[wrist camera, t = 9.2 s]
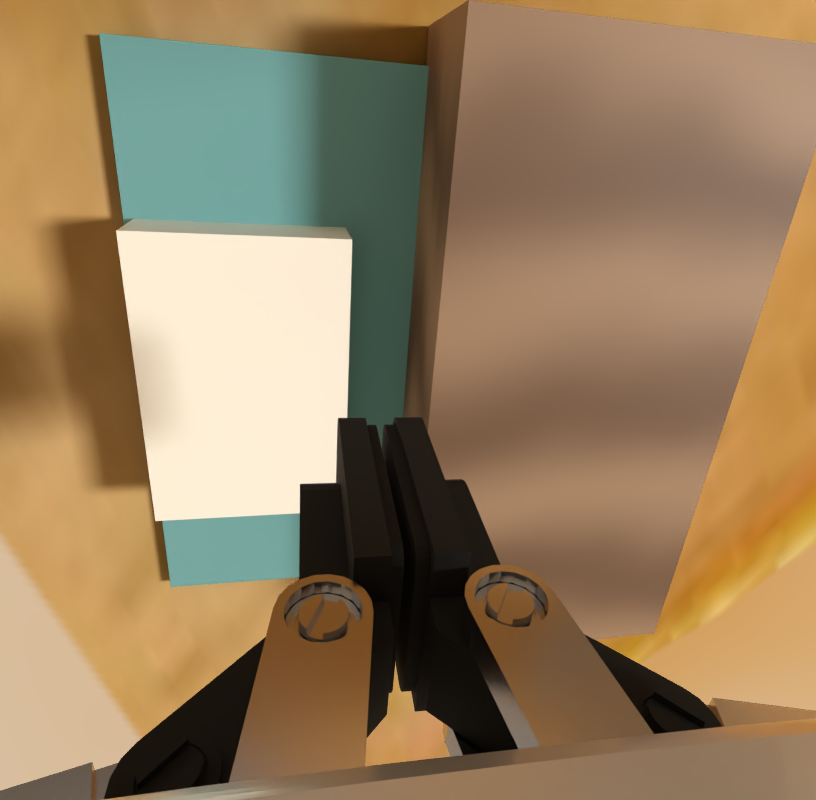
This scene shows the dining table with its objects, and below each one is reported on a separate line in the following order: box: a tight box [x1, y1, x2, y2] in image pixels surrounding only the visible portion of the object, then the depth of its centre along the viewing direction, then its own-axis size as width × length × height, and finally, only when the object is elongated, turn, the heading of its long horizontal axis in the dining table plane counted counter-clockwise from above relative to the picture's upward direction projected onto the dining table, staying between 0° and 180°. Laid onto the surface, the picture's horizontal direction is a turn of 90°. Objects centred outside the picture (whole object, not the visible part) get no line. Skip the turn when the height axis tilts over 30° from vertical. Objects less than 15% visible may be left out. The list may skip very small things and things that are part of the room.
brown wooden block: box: [403, 0, 816, 640], centre depth 20 cm, size 20×10×4 cm, turn 176°
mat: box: [99, 33, 429, 587], centre depth 19 cm, size 18×8×1 cm, turn 176°
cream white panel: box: [116, 219, 352, 521], centre depth 18 cm, size 9×6×2 cm, turn 176°
